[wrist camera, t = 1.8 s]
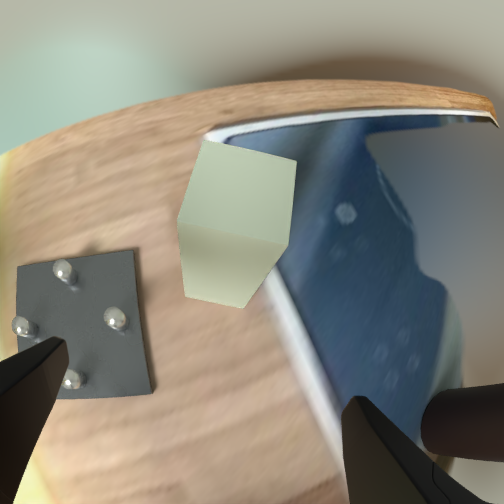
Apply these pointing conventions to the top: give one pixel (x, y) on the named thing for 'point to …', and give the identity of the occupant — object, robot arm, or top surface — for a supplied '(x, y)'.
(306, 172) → the top surface
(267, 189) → the sage block
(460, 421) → the bottle
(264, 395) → the top surface
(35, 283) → the grey peg board
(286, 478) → the top surface
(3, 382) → the robot arm
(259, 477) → the top surface
